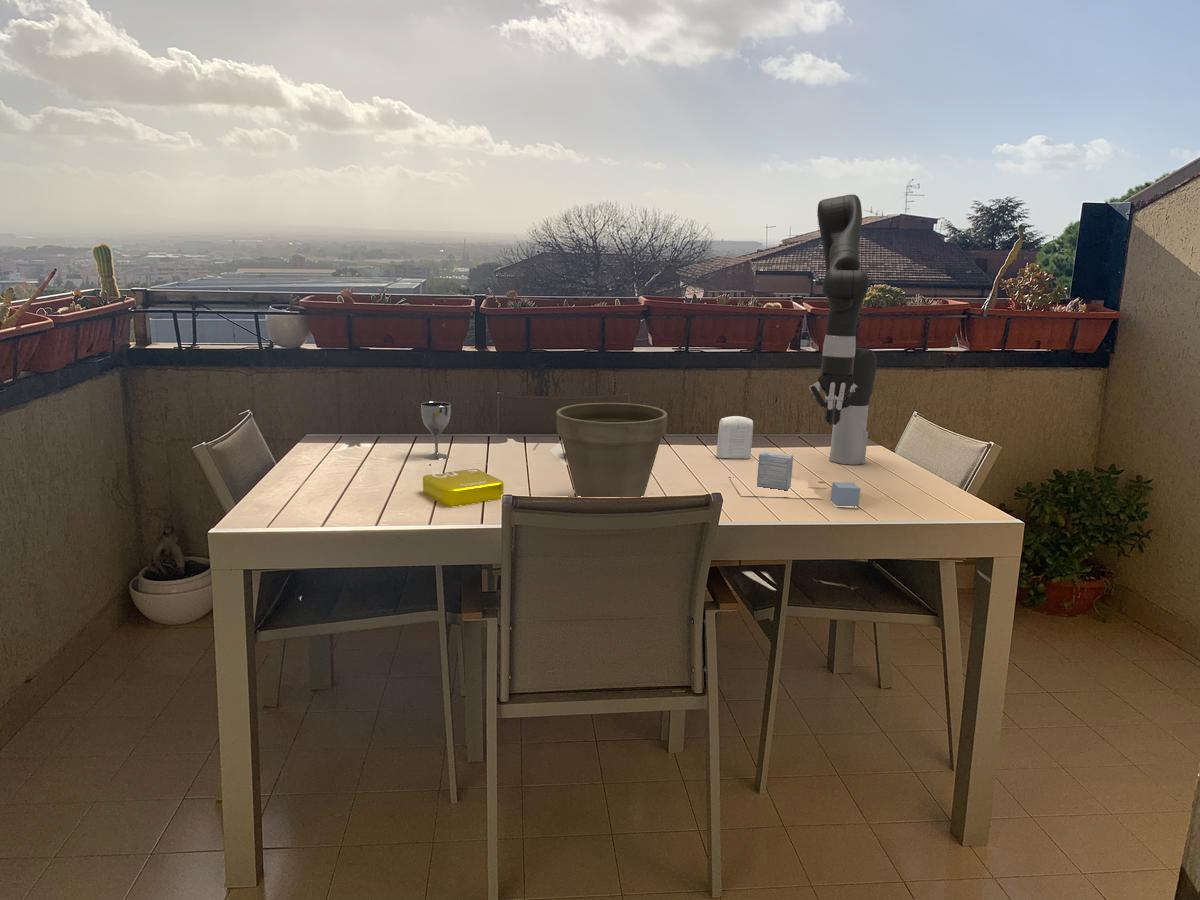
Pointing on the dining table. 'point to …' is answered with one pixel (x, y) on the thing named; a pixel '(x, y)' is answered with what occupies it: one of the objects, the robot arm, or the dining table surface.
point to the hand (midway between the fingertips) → (831, 423)
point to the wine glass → (436, 423)
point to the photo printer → (735, 437)
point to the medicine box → (775, 470)
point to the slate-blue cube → (845, 494)
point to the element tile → (462, 487)
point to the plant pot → (610, 446)
